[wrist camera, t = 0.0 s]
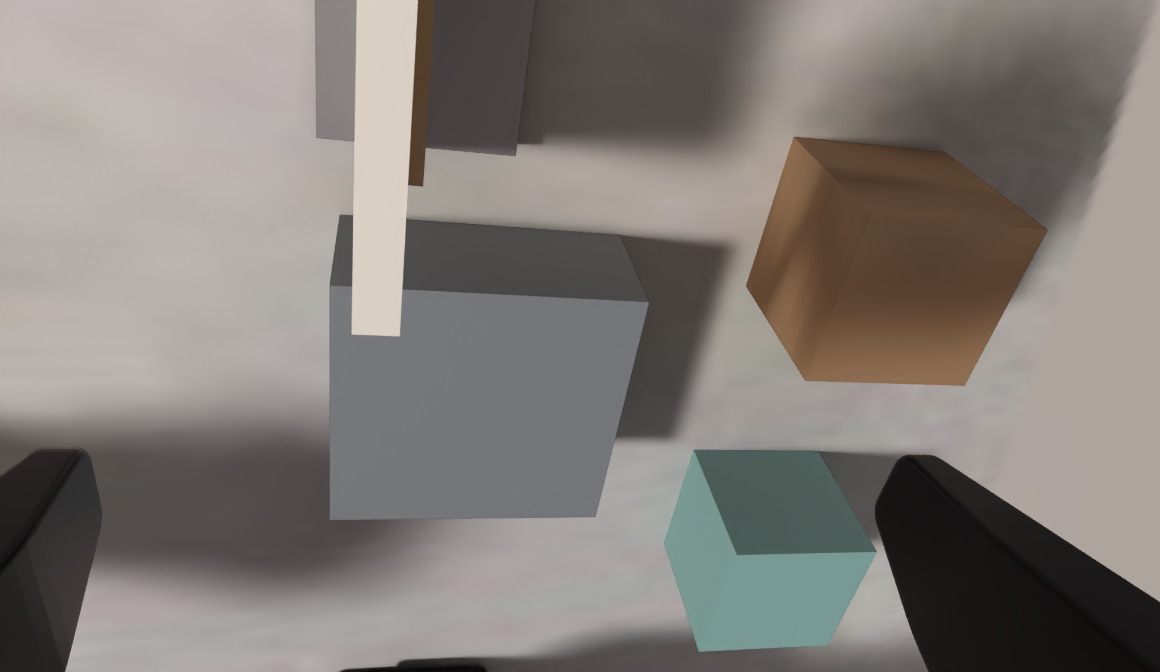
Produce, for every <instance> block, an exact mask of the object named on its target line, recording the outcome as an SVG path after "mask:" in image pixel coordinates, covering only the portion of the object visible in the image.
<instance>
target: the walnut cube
mask: <svg viewBox="0 0 1160 672" xmlns="http://www.w3.org/2000/svg"><path fill="white" fill-rule="evenodd" d="M1046 232H1047V229H1046V228H1045V227H1043V226H1042V225H1041V224H1039V223H1038V222H1037V221H1035V220H1034V219H1033V218H1031V217H1030V216H1029V215H1027V214H1026V213H1025V212H1024V211H1022V210H1021V209H1020V208H1018V207H1017V206H1016V205H1014V204H1013V203H1012V202H1010V201H1009V200H1008V199H1006V198H1005V197H1004V196H1002V195H1001V194H1000V193H998V192H997V191H996V190H994V189H993V188H992V187H991V186H989V185H988V184H987V183H985V182H984V181H983V180H981V179H980V178H979V177H977V176H976V175H975V174H973V173H972V172H971V171H969V170H968V169H967V168H965V167H964V166H963V165H962V164H960V163H959V162H958V161H956V160H955V159H954V158H952V157H951V156H950V155H948V154H947V153H943V152H934V151H924V150H915V149H905V148H896V147H886V146H876V145H867V144H857V143H848V142H838V141H829V140H819V139H810V138H800V137H794V138H793V141H792V144H791V147H790V150H789V153H788V156H787V160H786V163H785V166H784V169H783V172H782V175H781V178H780V181H779V185H778V188H777V191H776V194H775V197H774V200H773V203H772V206H771V210H770V213H769V216H768V219H767V222H766V225H765V228H764V231H763V235H762V238H761V241H760V244H759V247H758V250H757V253H756V257H755V260H754V263H753V266H752V269H751V272H750V275H749V278H748V282H747V285H746V287H747V288H748V290H749V292H750V293H751V295H752V296H753V298H754V300H755V301H756V303H757V304H758V306H759V308H760V309H761V311H762V312H763V314H764V316H765V317H766V319H767V320H768V322H769V324H770V325H771V327H772V328H773V330H774V332H775V333H776V335H777V336H778V338H779V340H780V341H781V343H782V344H783V346H784V348H785V349H786V351H787V352H788V354H789V356H790V357H791V359H792V361H793V362H794V364H795V365H796V367H797V369H798V370H799V372H800V373H801V375H802V377H803V378H804V380H805V381H828V382H860V383H893V384H925V385H957V386H965V384H966V382H967V380H968V379H969V377H970V375H971V373H972V371H973V369H974V367H975V365H976V364H977V362H978V360H979V358H980V356H981V354H982V352H983V350H984V348H985V347H986V345H987V343H988V341H989V339H990V337H991V335H992V333H993V332H994V330H995V328H996V326H997V324H998V322H999V320H1000V318H1001V317H1002V315H1003V313H1004V311H1005V309H1006V307H1007V305H1008V303H1009V301H1010V300H1011V298H1012V296H1013V294H1014V292H1015V290H1016V288H1017V286H1018V285H1019V283H1020V281H1021V279H1022V277H1023V275H1024V273H1025V271H1026V269H1027V268H1028V266H1029V264H1030V262H1031V260H1032V258H1033V256H1034V254H1035V253H1036V251H1037V249H1038V247H1039V245H1040V243H1041V241H1042V239H1043V237H1044V236H1045V234H1046Z"/></svg>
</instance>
